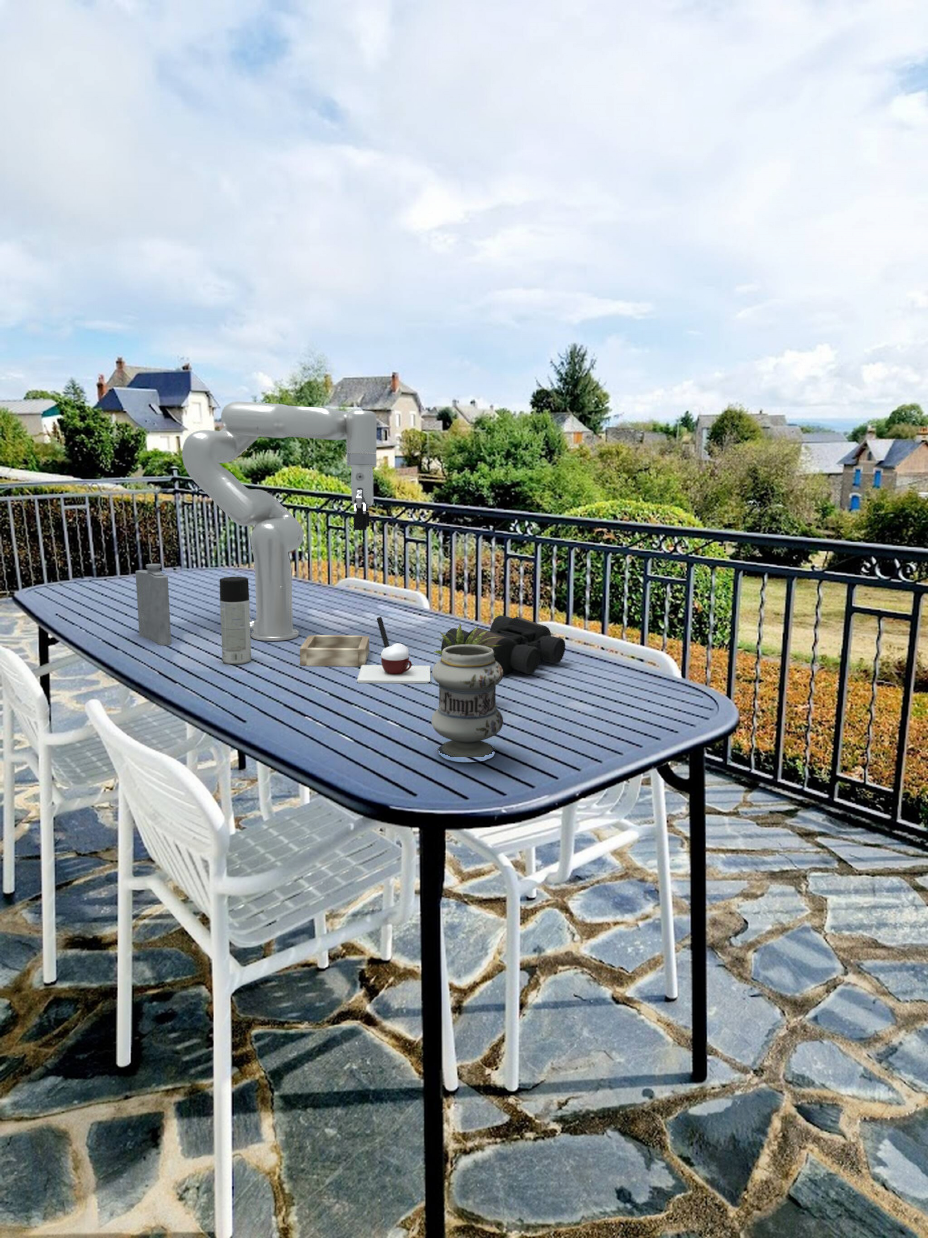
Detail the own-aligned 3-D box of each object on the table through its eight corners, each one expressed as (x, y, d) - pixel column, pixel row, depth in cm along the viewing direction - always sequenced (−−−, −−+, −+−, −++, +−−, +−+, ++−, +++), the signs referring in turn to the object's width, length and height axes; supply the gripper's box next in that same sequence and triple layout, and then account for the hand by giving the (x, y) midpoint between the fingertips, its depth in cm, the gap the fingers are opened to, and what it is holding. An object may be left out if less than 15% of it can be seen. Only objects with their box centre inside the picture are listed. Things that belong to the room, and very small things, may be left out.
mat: (357, 682, 174) (356, 680, 174) (361, 667, 187) (361, 665, 187) (430, 683, 175) (430, 681, 175) (430, 668, 188) (430, 665, 188)
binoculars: (503, 645, 211) (507, 609, 209) (572, 664, 200) (577, 625, 197) (438, 667, 188) (441, 626, 185) (512, 689, 177) (517, 646, 174)
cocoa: (415, 676, 180) (419, 624, 177) (391, 679, 176) (394, 626, 174) (395, 665, 187) (398, 615, 185) (371, 667, 184) (374, 617, 181)
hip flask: (137, 635, 215) (133, 561, 211) (152, 633, 217) (148, 560, 213) (161, 646, 203) (156, 568, 199) (176, 643, 206) (172, 566, 202)
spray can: (257, 660, 192) (254, 577, 188) (238, 666, 186) (235, 581, 182) (235, 656, 194) (232, 575, 190) (216, 662, 188) (212, 578, 184)
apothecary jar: (443, 736, 142) (445, 638, 139) (509, 745, 139) (513, 644, 135) (420, 760, 131) (422, 654, 127) (491, 770, 127) (495, 661, 124)
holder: (299, 665, 187) (299, 649, 186) (309, 650, 202) (308, 635, 201) (364, 666, 188) (364, 650, 187) (369, 651, 203) (369, 635, 202)
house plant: (470, 719, 152) (473, 636, 148) (411, 706, 159) (412, 626, 156) (507, 701, 164) (509, 623, 160) (450, 690, 171) (452, 615, 167)
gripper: (374, 461, 194) (374, 531, 198) (378, 460, 211) (378, 525, 215) (343, 460, 194) (343, 531, 197) (350, 460, 211) (350, 525, 214)
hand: (361, 528), depth 206 cm, fingers open, 9 cm apart
